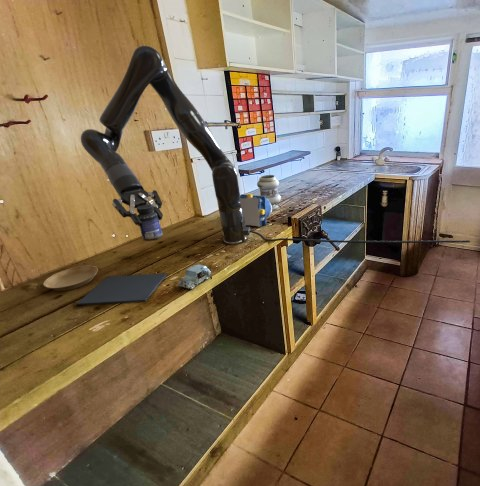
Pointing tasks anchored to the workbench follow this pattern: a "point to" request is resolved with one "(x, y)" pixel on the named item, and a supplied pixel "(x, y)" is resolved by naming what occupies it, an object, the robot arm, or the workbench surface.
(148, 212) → the pill bottle
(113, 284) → the mat
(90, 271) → the plant saucer
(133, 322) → the workbench surface
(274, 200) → the apothecary jar
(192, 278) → the toy car
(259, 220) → the valve
